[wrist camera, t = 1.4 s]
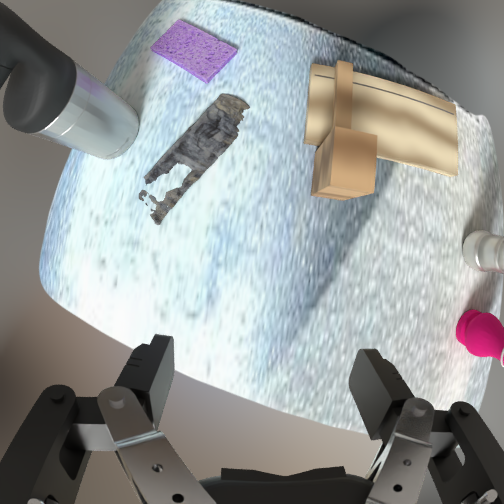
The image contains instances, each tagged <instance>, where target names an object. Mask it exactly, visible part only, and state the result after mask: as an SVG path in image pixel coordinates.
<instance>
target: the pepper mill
mask: <svg viewBox="0 0 504 504" xmlns="http://www.w3.org/2000/svg"><path fill="white" fill-rule="evenodd" d="M456 337H457V340H458V341H459V342H460V343H462V344H463V345H465V346H466V348H467V350H468V351H469V352H470V353H471V354H473V355H475V356H479V357H488V356H491V357H495V358H497V359H498V360H500V361H501V365H502V366H503V367H504V327H503V326H502V324H501V323H500V321H499V320H498V319H497V317H495V316H494V315H492V314H491V313H481V312H479V311H477V310H474V309H473V310H469V311H467V312H466V313H464V315H463V316H462V317H461V318H460V320H459V322H458V324H457V328H456Z"/></svg>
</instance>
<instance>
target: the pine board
mask: <svg viewBox="0 0 504 504" xmlns="http://www.w3.org/2000/svg"><path fill="white" fill-rule="evenodd" d="M334 78H335V67H330V66H325V65H319V64H314V63H312V65H311V68H310V74H309V88H308V100H307V112H306V123H305V134H304V144H309V145H315V146H321V144H322V143H323V142H324V140H325V139H326V138H327V136H328V135H329V134H330V132H331V131H332V117H333V100H334ZM351 130H356V131H361V132H365V133H369V134H374V135H377V158H382V159H386V160H390V161H394V162H398V163H402V164H406V165H410V166H414V167H418V168H421V169H425V170H429V171H432V172H435V173H439V174H442V175H446V176H449V177H452V176H457V175H458V137H457V118H456V106H455V104H453V103H450V102H448V101H445V100H443V99H440V98H438V97H435V96H433V95H430V94H427V93H425V92H422V91H419V90H416V89H413V88H410V87H407V86H404V85H401V84H398V83H394V82H391V81H388V80H384V79H381V78H377V77H373V76H370V75H366V74H362V73H358V72H353V94H352V121H351Z"/></svg>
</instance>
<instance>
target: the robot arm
mask: <svg viewBox="0 0 504 504" xmlns="http://www.w3.org/2000/svg"><path fill="white" fill-rule="evenodd" d="M10 73H11V75H10ZM9 75H10V78H9V81H8V84H7V88H6V91H5V95H4V101H3V112H4V117H5V119H6V121H7V123H8V124H9V125H10V126H11V127H12V128H14V129H16V130H18V131H21V132H25V133H28V134H31V135H34V136H37V137H40V138H43V139H46V140H50V141H52V142H55V143H58V144H61V145H64V146H67V147H70V148H73V149H76V150H79V151H82V152H85V153H87V154H90V155H93V156H96V157H99V158H102V159H112V158H116V157H118V156H120V155H121V154H123V153H124V152H126V151H127V150H128V149H129V148H130V146H131V145H132V144H133V142H134V140H135V138H136V136H137V133H138V128H139V119H138V115H137V113H136V111H135V110H134V109H133V108H132V107H131V106H130V105H129V104H128V103H126V102H125V101H124V100H123V99H122V98H120V97H119V96H118V95H117V94H115V93H114V92H113V91H112V90H111V89H109V88H108V87H107V86H106V85H104V84H103V83H102V82H101V81H99V80H98V79H97V78H96V77H94V76H93V75H91V74H90V73H89V72H88V71H87V70H85V69H84V68H83V67H81V66H80V65H79V64H78V63H76V62H75V61H74V60H72V59H71V58H70V57H69V56H67V55H66V54H64V53H63V52H62V51H60V50H59V49H57V48H56V47H54V46H53V45H52V44H50V43H49V42H48V41H46V40H45V39H44V38H43V37H41V36H40V35H39V34H38V33H37V32H35V30H33V29H32V28H31V27H30V26H29V25H28V24H27V23H26V22H24V21H23V20H22V19H21V18H20V17H19V16H18V15H16V14H15V13H14V12H13V11H12V10H11V9H9V8H8V7H7V6H6V5H4V4H3V3H1V2H0V88H1V87H2V85H3V84H4V82H5V81H6V79H7V78H8V76H9ZM398 373H399V372H398V371H397V369H396V368H395V366H394V365H393V364H392V363H390V362H389V361H388V360H386V359H383V358H382V356H381V355H380V353H379V352H378V350H377V349H360V350H359V351H358V353H357V356H356V359H355V362H354V365H353V368H352V371H351V374H350V377H349V388H350V391H351V393H352V396H353V398H354V400H355V403H356V405H357V407H358V410H359V412H360V415H361V417H362V419H363V422H364V424H365V427H366V429H367V431H368V434H369V436H370V439H371V440H378V439H382V441H383V442H382V444H381V446H380V447H379V450H378V452H377V454H376V456H375V458H374V460H373V462H372V465H371V466H370V468H369V470H368V472H367V474H366V476H365V478H362V477H359V476H356V475H351V474H346V472H345V469H344V467H343V466H340V467H330V468H319V469H313V470H310V471H306V472H302V473H298V474H294V475H290V476H279V475H275V474H270V473H265V472H260V471H256V470H243V469H228V468H222V469H221V476H215V477H210V478H206V479H203V480H200V481H197V480H196V478H195V477H194V476H193V474H192V473H191V472H190V470H189V469H188V468H187V466H186V465H185V464H184V462H183V461H182V459H181V458H180V457H179V455H178V454H177V453H176V451H175V450H174V448H173V447H172V445H171V444H170V443H169V441H168V440H167V438H166V437H165V435H164V434H163V433H162V432H161V431H159V432H157V429H158V426H159V423H160V419H161V416H162V412H163V409H164V406H165V403H166V399H167V396H168V393H169V390H170V387H171V383H172V380H173V376H174V340H173V336H166V335H159V334H155V335H154V337H153V339H152V341H151V343H150V345H148V344H141V345H140V346H138V347H137V348H135V349H134V350H133V352H132V354H131V356H130V359H128V361H127V363H126V365H125V366H124V368H123V370H122V372H121V374H120V376H119V377H118V379H117V381H116V383H115V385H114V386H113V387H109V388H106V389H104V390H102V391H101V392H100V394H99V395H98V397H76V395H75V392H74V391H73V390H72V389H71V388H70V387H68V386H65V385H52V386H50V387H48V388H46V389H45V390H44V391H43V392H42V393H41V395H40V396H39V398H38V400H37V401H36V403H35V404H34V406H33V407H32V409H31V411H30V412H29V414H28V415H27V417H26V419H25V420H24V422H23V423H22V425H21V427H20V428H19V430H18V432H17V434H16V435H15V437H14V439H13V441H12V442H11V444H10V446H9V447H8V449H7V451H6V453H5V455H4V456H3V458H2V460H1V462H0V504H74V503H75V500H76V496H77V493H78V490H79V487H80V484H81V481H82V478H83V475H84V472H85V469H86V467H87V463H88V460H89V458H90V455H91V453H92V451H94V450H95V451H114V452H115V454H116V456H117V458H118V460H119V462H120V464H121V466H122V468H123V470H124V472H125V474H126V476H127V478H128V480H129V482H130V483H131V485H132V487H133V489H134V491H135V493H136V495H137V497H138V499H139V501H140V502H141V504H416V502H417V500H418V496H419V493H420V490H421V487H422V484H423V480H424V477H425V474H426V470H427V467H428V469H429V471H430V474H431V476H432V478H433V481H434V483H435V486H436V488H437V491H438V493H439V496H440V498H441V501H442V503H443V504H504V451H503V450H502V448H501V447H500V445H499V444H498V442H497V440H496V439H495V437H494V436H493V434H492V433H491V431H490V430H489V428H488V427H487V425H486V424H485V422H484V421H483V419H482V418H481V417H480V415H479V414H478V412H477V411H476V409H475V408H474V407H473V406H472V405H470V404H469V403H466V402H462V401H458V402H455V403H453V404H452V406H451V407H450V409H449V411H443V410H434V407H433V406H432V404H431V403H429V402H428V401H426V400H425V399H422V398H415V397H414V395H413V394H412V392H411V390H410V389H409V387H408V386H407V384H406V383H405V381H404V380H402V377H401V375H400V374H398ZM458 444H459V446H460V447H461V449H462V451H463V453H464V455H465V463H464V465H463V466H462V464H461V462H460V460H459V458H458V456H457V454H456V452H455V450H454V449H455V448H456V447H457V446H458Z"/></svg>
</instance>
